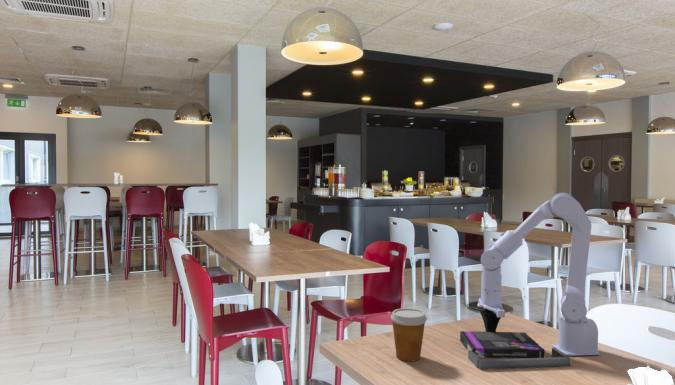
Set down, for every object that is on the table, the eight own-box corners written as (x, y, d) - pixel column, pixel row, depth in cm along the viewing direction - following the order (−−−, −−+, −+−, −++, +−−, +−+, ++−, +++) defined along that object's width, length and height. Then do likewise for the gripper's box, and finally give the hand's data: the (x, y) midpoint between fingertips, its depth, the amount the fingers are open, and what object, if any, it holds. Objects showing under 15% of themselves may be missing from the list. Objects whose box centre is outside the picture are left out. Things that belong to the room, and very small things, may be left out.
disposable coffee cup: (427, 352, 131) (428, 309, 131) (424, 365, 122) (425, 319, 122) (393, 349, 134) (393, 306, 133) (387, 361, 125) (387, 316, 124)
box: (471, 361, 128) (545, 361, 127) (471, 348, 128) (545, 348, 127) (459, 342, 142) (526, 342, 141) (459, 330, 142) (526, 330, 141)
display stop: (555, 355, 130) (555, 348, 130) (571, 366, 122) (571, 358, 122) (468, 358, 127) (468, 350, 127) (479, 369, 120) (479, 361, 120)
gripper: (469, 284, 149) (468, 327, 149) (488, 295, 134) (487, 343, 135) (491, 283, 150) (490, 326, 150) (512, 295, 135) (511, 342, 136)
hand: (490, 334), depth 142 cm, fingers closed
